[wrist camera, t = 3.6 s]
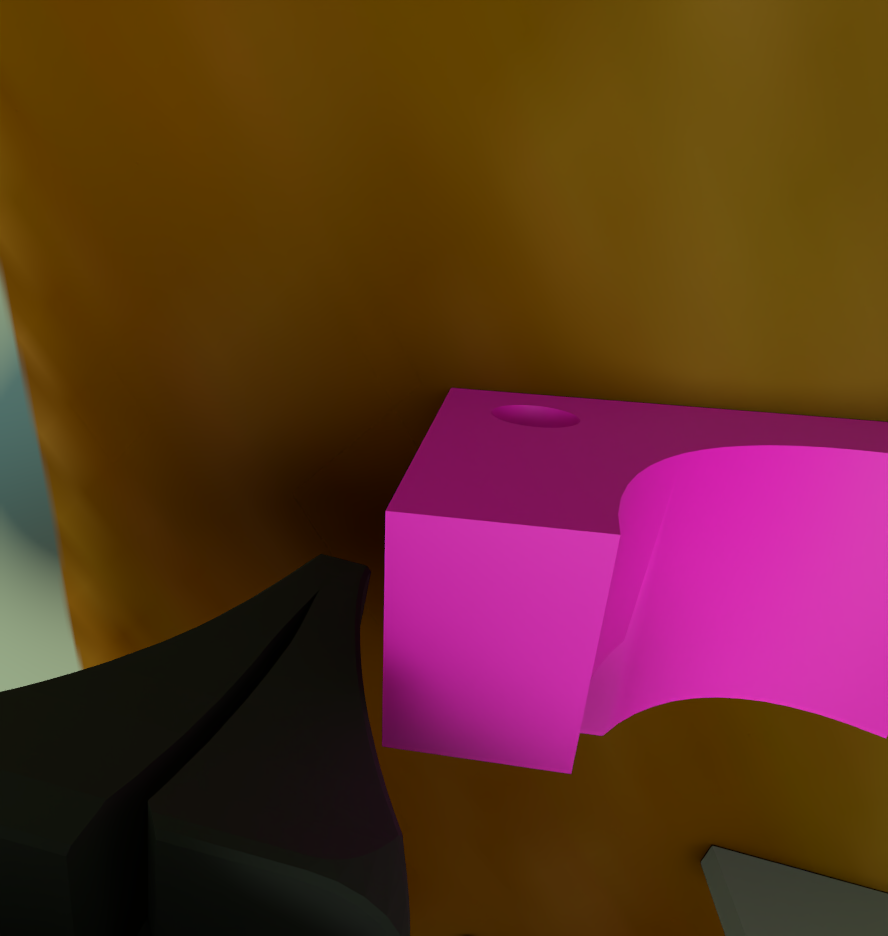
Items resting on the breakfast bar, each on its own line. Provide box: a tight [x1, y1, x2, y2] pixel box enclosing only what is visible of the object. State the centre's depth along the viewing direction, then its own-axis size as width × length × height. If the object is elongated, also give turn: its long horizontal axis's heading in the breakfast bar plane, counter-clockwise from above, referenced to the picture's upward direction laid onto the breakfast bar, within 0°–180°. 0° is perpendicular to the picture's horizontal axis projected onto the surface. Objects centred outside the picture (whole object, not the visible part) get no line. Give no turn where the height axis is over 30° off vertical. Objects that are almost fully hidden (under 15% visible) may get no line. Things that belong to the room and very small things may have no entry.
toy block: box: [382, 388, 888, 774], centre depth 10 cm, size 15×6×8 cm, turn 87°
